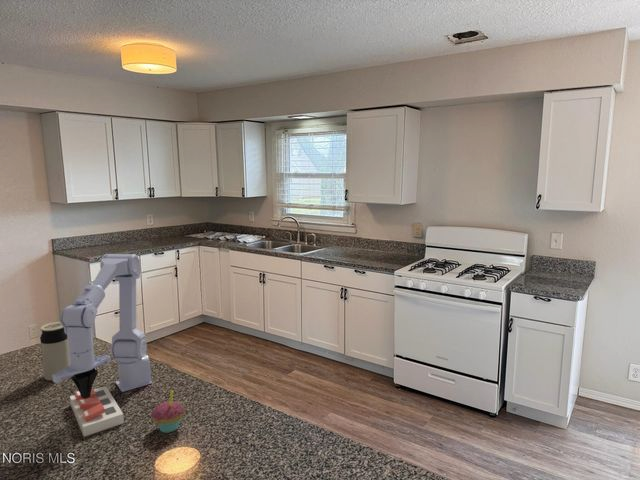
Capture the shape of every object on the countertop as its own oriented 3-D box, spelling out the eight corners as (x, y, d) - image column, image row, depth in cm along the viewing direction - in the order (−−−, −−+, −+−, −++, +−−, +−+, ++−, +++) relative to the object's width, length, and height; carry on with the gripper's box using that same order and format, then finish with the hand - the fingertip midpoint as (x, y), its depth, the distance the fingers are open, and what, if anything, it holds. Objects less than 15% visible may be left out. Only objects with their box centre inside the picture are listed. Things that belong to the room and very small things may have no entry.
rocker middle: (97, 401, 126) (97, 396, 126) (100, 406, 123) (100, 402, 123) (78, 403, 123) (78, 399, 123) (80, 409, 120) (81, 404, 120)
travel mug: (76, 374, 149) (71, 324, 146) (51, 383, 142) (46, 331, 139) (64, 368, 153) (59, 320, 150) (40, 377, 147) (34, 327, 144)
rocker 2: (102, 406, 121) (101, 402, 121) (105, 412, 119) (104, 408, 118) (83, 415, 119) (82, 411, 118) (86, 421, 116) (84, 417, 115)
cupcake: (191, 422, 120) (189, 382, 118) (171, 440, 112) (169, 397, 111) (165, 416, 123) (163, 377, 121) (144, 433, 115) (142, 392, 113)
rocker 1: (92, 393, 131) (93, 388, 131) (95, 397, 128) (96, 393, 128) (74, 395, 127) (74, 391, 127) (76, 400, 125) (77, 395, 125)
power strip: (99, 381, 143) (98, 373, 143) (123, 423, 120) (123, 413, 120) (64, 391, 137) (63, 382, 137) (83, 436, 114) (82, 426, 113)
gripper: (98, 337, 122) (102, 382, 124) (44, 355, 110) (49, 405, 112) (113, 342, 118) (117, 388, 120) (58, 362, 106) (64, 413, 108)
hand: (85, 397), depth 116 cm, fingers closed
